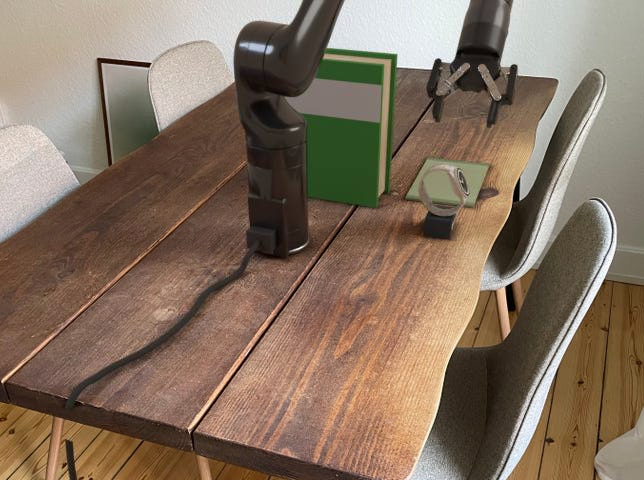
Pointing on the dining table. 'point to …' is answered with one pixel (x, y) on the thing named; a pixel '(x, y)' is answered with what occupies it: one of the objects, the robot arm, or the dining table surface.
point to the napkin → (441, 185)
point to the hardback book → (350, 126)
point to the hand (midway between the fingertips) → (462, 123)
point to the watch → (443, 217)
